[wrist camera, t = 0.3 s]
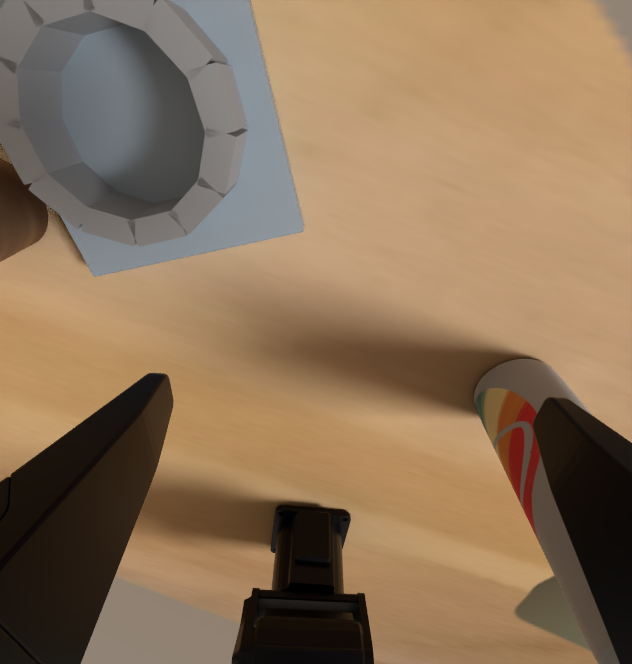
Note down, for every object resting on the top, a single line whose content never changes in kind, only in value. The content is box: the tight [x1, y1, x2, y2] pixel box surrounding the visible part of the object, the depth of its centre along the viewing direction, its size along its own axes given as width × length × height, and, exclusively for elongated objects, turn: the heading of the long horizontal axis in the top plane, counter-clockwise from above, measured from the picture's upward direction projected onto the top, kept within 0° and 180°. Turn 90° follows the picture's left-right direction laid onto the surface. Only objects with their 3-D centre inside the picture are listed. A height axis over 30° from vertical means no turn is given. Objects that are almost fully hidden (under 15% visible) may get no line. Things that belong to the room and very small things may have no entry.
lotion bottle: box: [474, 359, 620, 664], centre depth 19 cm, size 6×6×20 cm
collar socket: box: [0, 0, 304, 277], centre depth 18 cm, size 13×12×4 cm
